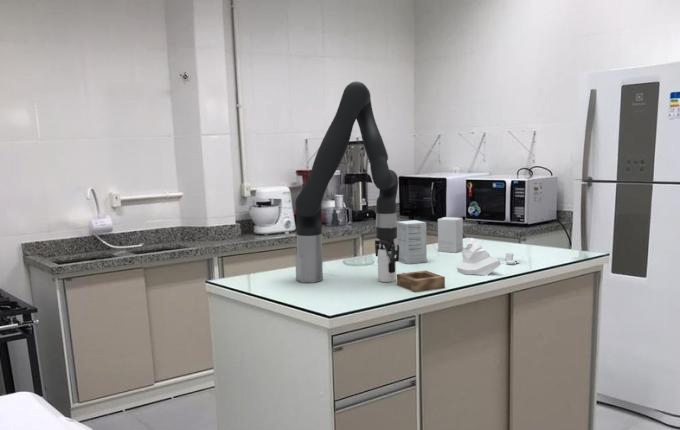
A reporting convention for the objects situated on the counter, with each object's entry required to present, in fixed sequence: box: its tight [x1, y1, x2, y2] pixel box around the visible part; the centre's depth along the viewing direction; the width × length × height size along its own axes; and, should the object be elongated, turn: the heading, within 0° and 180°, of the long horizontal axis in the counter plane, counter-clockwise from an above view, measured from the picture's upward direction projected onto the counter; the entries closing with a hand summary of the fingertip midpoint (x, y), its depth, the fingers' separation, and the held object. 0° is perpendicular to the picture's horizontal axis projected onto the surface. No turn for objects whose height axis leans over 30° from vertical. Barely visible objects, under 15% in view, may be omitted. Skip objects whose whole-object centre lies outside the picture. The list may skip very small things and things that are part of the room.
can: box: [377, 248, 397, 284], centre depth 215 cm, size 6×6×12 cm
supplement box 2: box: [437, 216, 464, 254], centre depth 270 cm, size 9×9×15 cm
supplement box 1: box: [396, 219, 428, 265], centre depth 248 cm, size 10×9×17 cm
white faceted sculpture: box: [456, 237, 502, 276], centre depth 225 cm, size 12×15×14 cm
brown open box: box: [396, 270, 446, 293], centre depth 206 cm, size 12×12×4 cm
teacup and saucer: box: [500, 252, 516, 265], centre depth 242 cm, size 9×8×4 cm
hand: (387, 270), depth 215 cm, fingers closed on can, 6 cm apart
